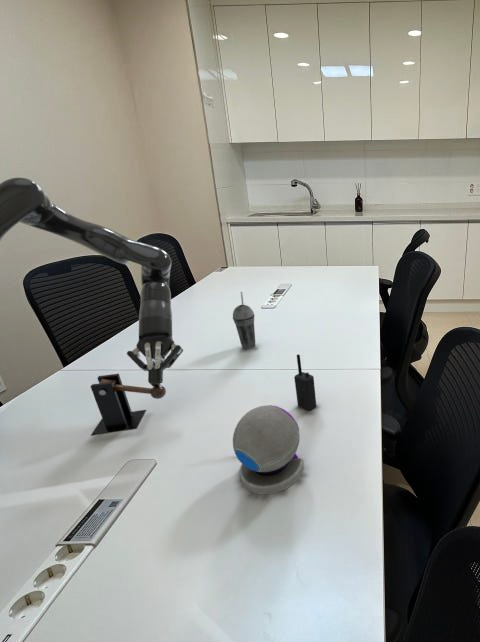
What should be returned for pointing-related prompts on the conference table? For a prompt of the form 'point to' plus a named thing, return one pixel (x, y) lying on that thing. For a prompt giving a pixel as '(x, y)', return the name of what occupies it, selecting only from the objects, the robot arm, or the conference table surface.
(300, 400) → the walkie-talkie
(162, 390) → the lever
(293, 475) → the webcam
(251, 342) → the beverage cup
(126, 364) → the conference table surface
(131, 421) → the bracket
